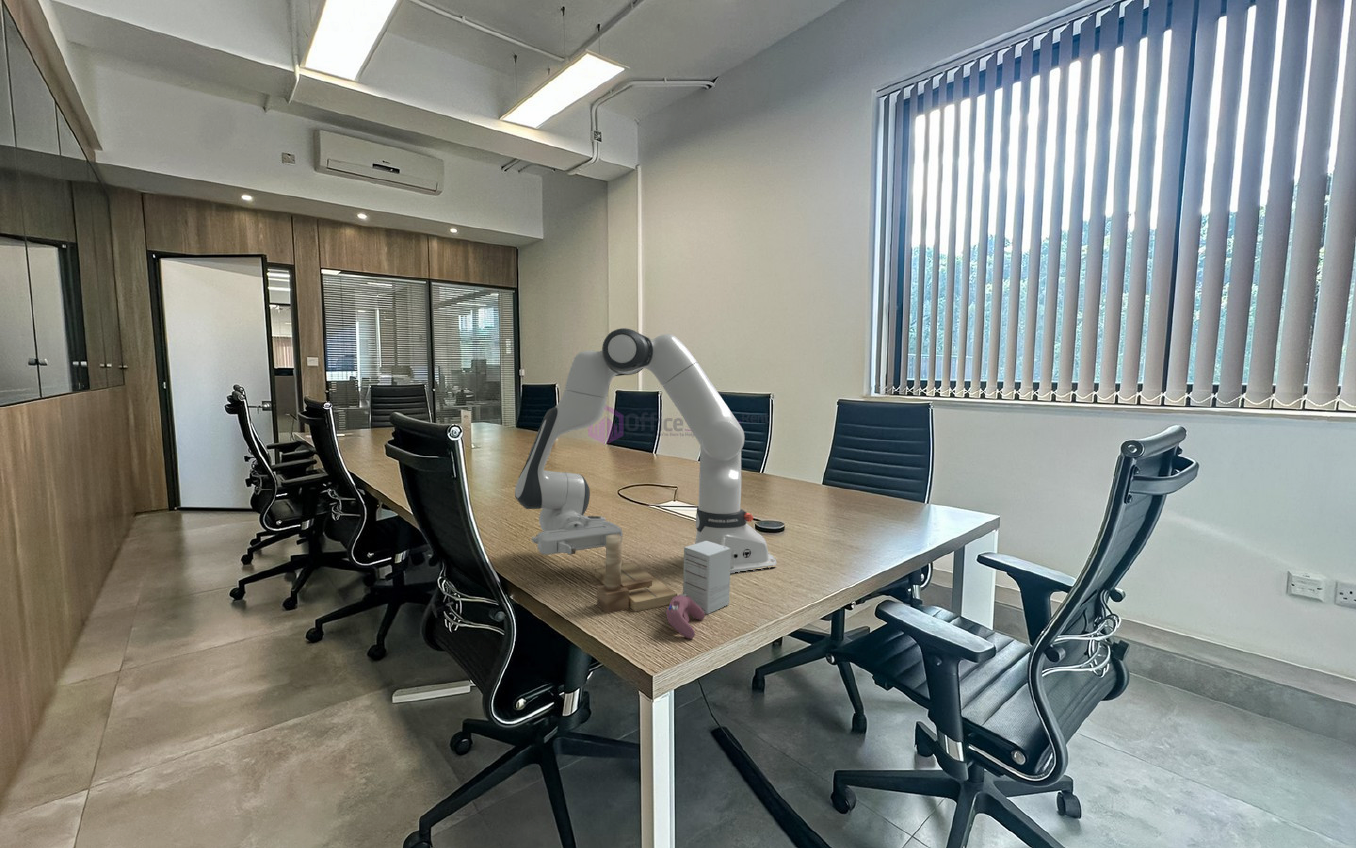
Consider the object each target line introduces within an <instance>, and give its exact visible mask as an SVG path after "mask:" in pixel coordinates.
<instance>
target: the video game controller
mask: <svg viewBox="0 0 1356 848" xmlns="http://www.w3.org/2000/svg"><path fill="white" fill-rule="evenodd" d="M665 615H666V619H667V622H668V623H669V625H670V626H671V627H673V629H674V630H676V632H677V633H679V634H680V635H681V636H683V637H684V638H686V639H689V640H690V639H693V638H694V637H695V636H696V632H695V629H694V628H693V626H691V624H690V623H689V622H690V617H692V618H694V619H697V620H698V621H699V620H700V621H703V620H704V619H705V613H704V611H703V610H702V608H700V607H699V606H698V605H697V604H696V603H695V602H694V601H693V600H692V599H691V598H690V597H689V596H687V594H684V595H683V593H681V594H677V596H675V597H674V598H673V599H672V600H671V602H670V604H669V606H668V608H666V611H665ZM689 615H690V617H689Z"/></svg>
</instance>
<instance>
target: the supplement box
mask: <svg viewBox="0 0 1356 848" xmlns="http://www.w3.org/2000/svg"><path fill="white" fill-rule="evenodd" d="M730 558H731V548H728V547H726V546H722V545H719V544H716V543H712V542H709V541H703V542H700V543H697V544H695V543H694V544H691V545H687V546H684V547H683V572H682V573H683V575H682V577H683V580H682V581H683V582H682V594H683V595H684V594H687V596H689V597H690V598H691V599H692V600H693V601H694V602H695V603H696V604H697V605H698V606H699V607H700V608H702V610H703V611H704V614H706V615H708V614H711V613H713V612H715V611H717V610H719V609H722V608H725V607H726V605H727V606H729V605H730V589H731V588H730V587H731V585H730V583H731V573H730ZM728 604H729V605H728ZM724 606H725V607H724Z"/></svg>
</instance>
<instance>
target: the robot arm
mask: <svg viewBox="0 0 1356 848" xmlns="http://www.w3.org/2000/svg"><path fill="white" fill-rule="evenodd" d="M644 369H646V370H648V371H650V372H651V373H652V375H654V377H655V378H656V379H657V380H658V382H659V383H660V385H661V387H662V388H663V389H664V391H665V392H666V394H667V395H668V397H669V399H670V400H671V401H672V403H673V404H674V406H675V407H676V408H677V410H678V411H679V413H680V415H681V417H682V419H684V422H685V423H686V425H687V427H688V428H689V429H690V431H691V433H692V434H693V436H694V438H695V439H696V440H697V442H698V444H699V446H700V452H699V453H700V454H699V477H698V479H699V480H698V481H699V482H698V507H697V508H696V513H695V528H696V535H695V542H694V544H697V543H700V542H703V541H709V542H712V543H716V544H719V545H722V546H726V547H728V548H731V558H730V574H735V572H738V573H741V572H740V571H746V570H751V569H756V568H762V567H768V566H773V565H776V564H777V560H776V557H774V556H773V555H772V553H770V552H769V551H768V550H769V549H768V544H767V540H766V539H765V538H764V536H762V535H761V534H760V533H759V532H758V531H756V529H754V528H753V527H751V526H750V525H749V524H748V523H751V522H752V521H753V520H754V515H753V514H751V513H750V512H747V511H746V510H744V509H742V508H741V506H742V505H741V504H742V503H741V502H742V501H741V500H742V449H743V447H744V445H745V440H746V439H745V438H746V437H745V431H744V429H743V428H742V425H741V424H740V423H739V420H737V417H735V416H734V414H733V412H732V411H731V410H730V408H729V407H728V405H727V403H726V402H725V401H724V399H723V398H722V396H721V394H720V393H719V392H718V390H717V389H716V387H715V386H714V385H713V383H712V381H711V380H710V378H709V377H708V375H707V373H705V371H704V370H703V368H702V367H701V365H700V364H699V362H698V361H697V359H696V358H695V356H694V355H693V354H692V353H691V352H690V350H689V349H688V348H687V346H686V345H685V344H684V343H683V342H682V341H681V340H680V339H679V338H678V337H677V336H676V335H674V334H670V333H665V334H661V335H658V336H656V337H655V338H653V339H650V338H649V336H648V337H647V336H645V335H643V334H641V333H640V332H638V331H635V330H633V329H631V328H626V327H625V328H623V327H622V328H617V329H614V330H612V331H611V332H609V333H608V334H607V335H606V337H605V338H604V340H603V342H602V347H601V350H599V351H594V350H583V351H581V352H578V353H577V354H576V355H575V356H574V358H573V361H572V363H571V366H570V369H569V372H568V375H567V378H566V381H565V386H564V391H563V394H562V397H561V399H559V402H558V403H557V404H556V405H555V406H554V407H552V408H549V409H548V410H547V412H546V413H545V415H544V417H543V419H542V421H541V423H540V426H539V428H538V431H537V432H536V436H535V438H534V440H533V443H532V446H531V449H530V451H529V454H528V457H527V459H526V462H525V464H524V467H523V469H521V470H522V471H521V472H520V474H519V476H518V478H517V481H516V484H515V490H514V496H515V499H516V500H517V502H518V503H519V504H520V505H521V506H522V507H523V508H524V509H525V510H540V512H539V514H538V522H539V525H540V528H541V531H540V532H538V534H537V535H536V536H532V538H531V541H532V543H533V544H535V545H536V544H537V550H538V551H539V553H540V554H541V555H545V556H546V555H547V556H548V555H555V554H567V555H575V554H576V551H577V552H578V551H582V550H583V551H584V550H590V549H591V550H592V549H597V548H603V547H605V548H606V536H608V535H620V536H622V538H623V535H624V534H623V529H622V528H621V527H619V526H618V525H617V524H615V523H613V522H610V521H609V520H606V518H605V516H602V515H601V516H599V515H598V516H597V515H596V516H595V515H594V516H593V515H592V516H591V515H589V516H588V515H584V514H585V513H586V512H587V510H588V506H589V503H590V496H591V490H590V487H589V484H588V482H587V480H586V479H585V478H584V476H583V475H582V474H580V473H573V472H566V471H565V472H564V471H563V472H561V471H552V470H551V471H550V470H546V469H545V468H546V464H547V462H548V459H549V457H550V454H551V452H552V449H553V446H554V444H555V442H556V440H557V439H559V437H560V436H562V435H564V434H566V433H570V432H573V431H577V430H583V429H586V428H588V427H590V426H592V425H594V424H596V423H597V422H598V421H599V420H601V418H602V416H603V415H604V411H605V409H606V405H607V404H606V403H607V398H608V394H609V389H610V384H611V382H612V380H613V379H614V378H615V377H619V376H631V375H632V376H633V375H636V374H637V373H640V372H641V371H643V370H644ZM747 522H748V523H747ZM772 561H773V562H772ZM776 566H777V565H776ZM746 572H747V571H746Z"/></svg>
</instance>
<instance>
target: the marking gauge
mask: <svg viewBox="0 0 1356 848" xmlns="http://www.w3.org/2000/svg"><path fill="white" fill-rule="evenodd" d="M622 543H623V537H622V536H620V535H608V536H606V546H605V567H606V580H605V585H604V584H601V585H597V588H596V591H597V592H596V593H597V594H596V597H597V598H596V605H597V606H598V607H599V608H600V609H601V610H602V611H603V612H604V613H605V614H606V615H607V614H612V613H615V612H620V611H621V612H622V611H625V610H626V611H627V610H628V609H629V608H630V607H629V590H634V589H639V588H644V587H647V588H649V587H650V586H652V580H650V579H649V578H647V579H642V580H636V581H631V582H625V583H621V564H622V545H623V544H622Z"/></svg>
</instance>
